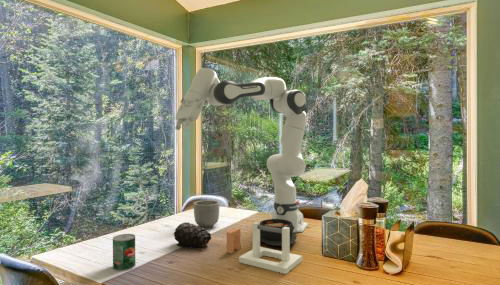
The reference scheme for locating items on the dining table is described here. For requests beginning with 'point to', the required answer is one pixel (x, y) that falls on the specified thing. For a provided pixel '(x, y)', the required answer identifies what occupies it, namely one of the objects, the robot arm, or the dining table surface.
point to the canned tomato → (123, 252)
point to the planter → (206, 213)
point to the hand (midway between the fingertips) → (180, 129)
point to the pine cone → (191, 236)
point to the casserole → (275, 237)
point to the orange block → (233, 240)
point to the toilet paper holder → (271, 251)
